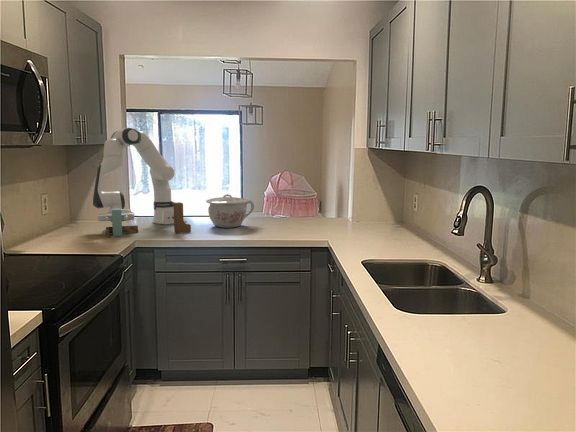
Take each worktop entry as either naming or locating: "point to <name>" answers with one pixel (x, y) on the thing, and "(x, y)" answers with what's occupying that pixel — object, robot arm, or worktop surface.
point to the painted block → (116, 222)
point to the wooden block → (180, 219)
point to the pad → (117, 236)
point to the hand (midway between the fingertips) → (116, 219)
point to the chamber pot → (228, 211)
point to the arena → (124, 230)
